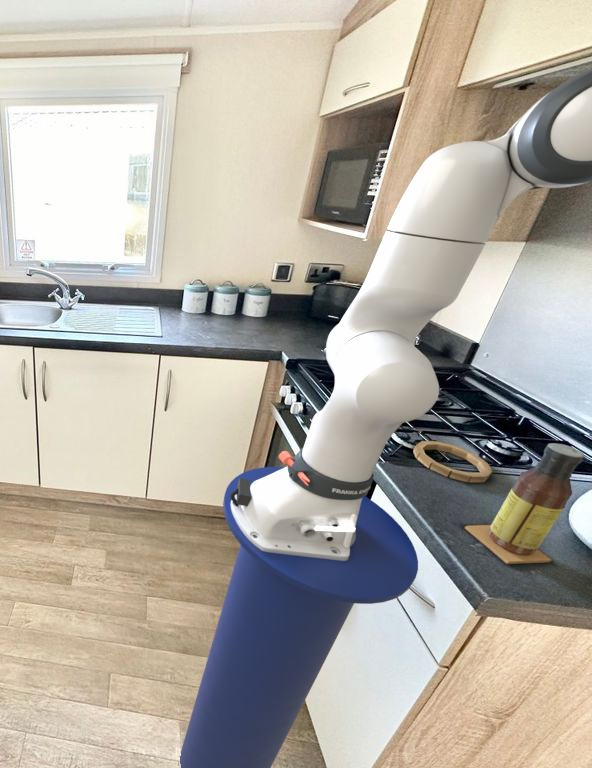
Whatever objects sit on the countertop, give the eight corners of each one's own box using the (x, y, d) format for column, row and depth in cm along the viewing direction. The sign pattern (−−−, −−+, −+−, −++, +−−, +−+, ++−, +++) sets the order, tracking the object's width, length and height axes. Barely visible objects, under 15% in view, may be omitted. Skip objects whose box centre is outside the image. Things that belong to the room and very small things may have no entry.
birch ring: (447, 483, 88) (451, 477, 87) (399, 446, 100) (402, 441, 99) (504, 481, 89) (508, 475, 88) (450, 445, 101) (453, 440, 100)
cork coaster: (507, 564, 69) (509, 561, 69) (464, 528, 76) (465, 525, 76) (550, 562, 70) (551, 559, 70) (503, 526, 77) (505, 524, 77)
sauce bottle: (537, 547, 72) (605, 455, 63) (528, 563, 69) (599, 468, 60) (489, 523, 77) (546, 434, 68) (478, 537, 73) (537, 446, 65)
